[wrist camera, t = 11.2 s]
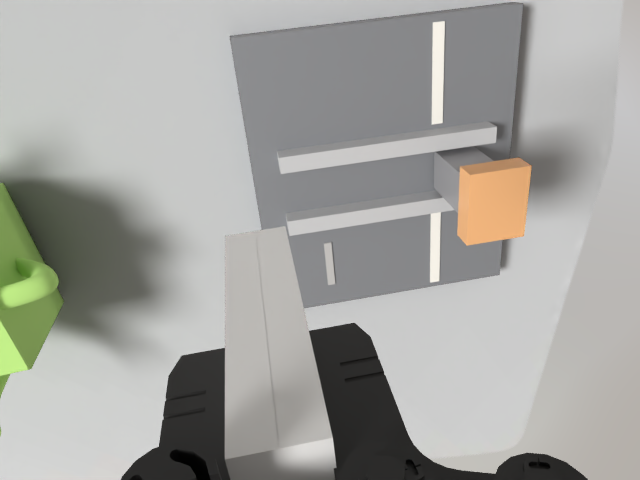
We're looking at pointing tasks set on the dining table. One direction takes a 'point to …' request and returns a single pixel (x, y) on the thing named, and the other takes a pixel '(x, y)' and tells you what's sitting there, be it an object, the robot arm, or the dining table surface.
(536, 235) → the dining table surface
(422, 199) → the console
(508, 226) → the fader
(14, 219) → the teapot
